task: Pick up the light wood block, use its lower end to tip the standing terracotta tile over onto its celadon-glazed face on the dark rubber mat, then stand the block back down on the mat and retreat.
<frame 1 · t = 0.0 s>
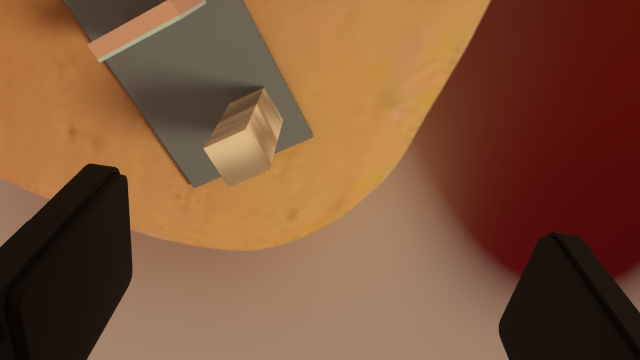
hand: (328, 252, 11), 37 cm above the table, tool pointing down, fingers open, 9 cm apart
tile: (166, 14, 43), point 1 cm above the table, touching mat
light wood block: (256, 111, 48), point 1 cm above the table, touching mat
mat: (187, 54, 46), on the table
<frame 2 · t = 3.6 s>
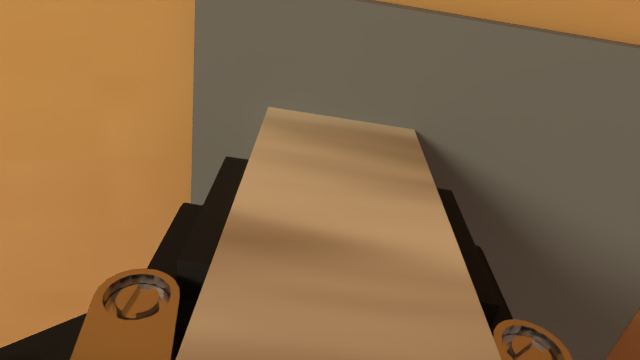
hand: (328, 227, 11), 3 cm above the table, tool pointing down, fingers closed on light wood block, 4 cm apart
light wood block: (329, 181, 13), point 1 cm above the table, touching gripper, mat
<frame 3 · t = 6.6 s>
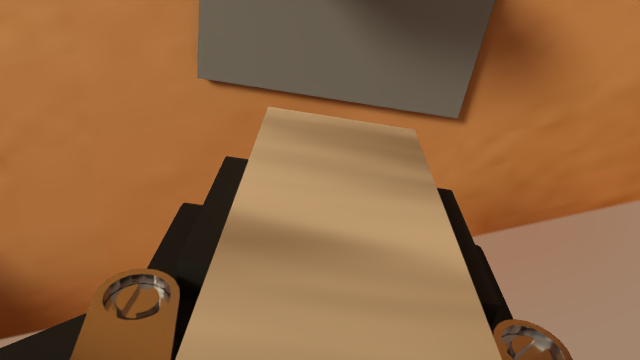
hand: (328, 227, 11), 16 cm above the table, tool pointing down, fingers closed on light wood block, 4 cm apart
light wood block: (329, 181, 13), point 14 cm above the table, touching gripper
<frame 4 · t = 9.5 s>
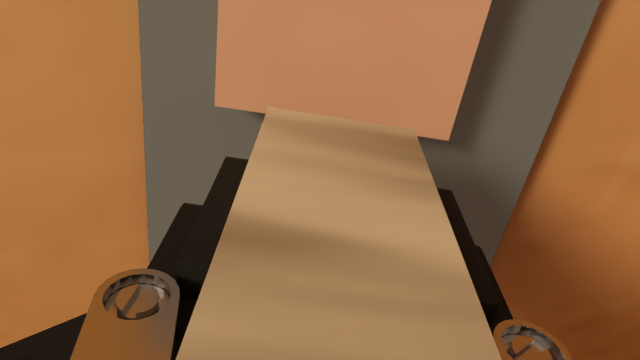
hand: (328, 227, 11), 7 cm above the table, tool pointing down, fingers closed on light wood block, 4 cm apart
tile: (332, 114, 16), point 1 cm above the table, tilted 90°, touching mat
light wood block: (329, 181, 13), point 5 cm above the table, touching gripper
mat: (361, 20, 16), on the table
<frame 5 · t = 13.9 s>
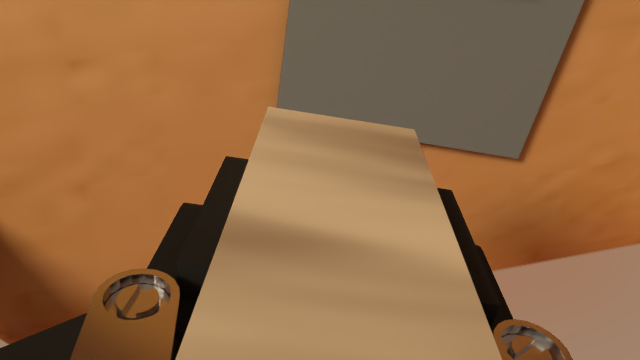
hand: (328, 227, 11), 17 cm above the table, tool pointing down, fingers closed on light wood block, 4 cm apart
light wood block: (329, 181, 13), point 15 cm above the table, touching gripper
when the fingers open (3 cm above the table, at t = 17.6 s): light wood block stays where it is, resting on mat.
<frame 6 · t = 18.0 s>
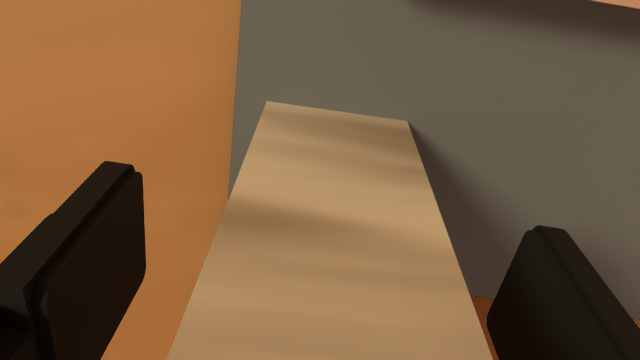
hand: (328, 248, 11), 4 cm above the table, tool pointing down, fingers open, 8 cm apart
light wood block: (327, 173, 14), point 1 cm above the table, touching mat
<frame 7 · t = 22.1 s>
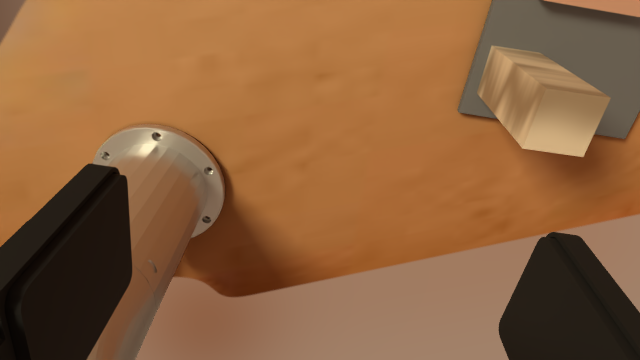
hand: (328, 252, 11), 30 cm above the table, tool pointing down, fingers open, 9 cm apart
tile: (591, 7, 35), point 1 cm above the table, tilted 90°, touching mat
light wood block: (507, 73, 38), point 1 cm above the table, touching mat
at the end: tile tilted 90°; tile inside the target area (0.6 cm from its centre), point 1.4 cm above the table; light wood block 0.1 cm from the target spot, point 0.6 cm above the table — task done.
